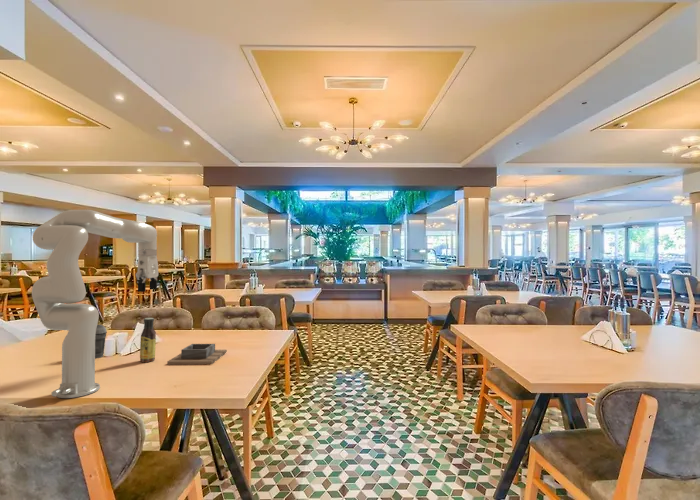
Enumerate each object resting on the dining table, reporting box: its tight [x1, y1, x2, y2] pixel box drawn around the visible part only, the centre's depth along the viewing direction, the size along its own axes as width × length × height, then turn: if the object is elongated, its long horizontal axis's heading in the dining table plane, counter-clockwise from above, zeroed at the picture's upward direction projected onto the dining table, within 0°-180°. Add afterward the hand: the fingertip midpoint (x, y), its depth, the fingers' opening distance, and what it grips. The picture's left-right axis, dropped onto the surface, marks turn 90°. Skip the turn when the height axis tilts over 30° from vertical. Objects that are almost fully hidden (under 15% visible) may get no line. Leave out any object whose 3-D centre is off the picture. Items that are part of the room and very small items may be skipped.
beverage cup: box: [95, 324, 108, 359], centre depth 174 cm, size 7×7×20 cm
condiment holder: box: [166, 343, 228, 366], centre depth 171 cm, size 20×20×6 cm
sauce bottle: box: [139, 317, 157, 363], centre depth 167 cm, size 7×6×20 cm
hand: (147, 290), depth 167 cm, fingers open, 9 cm apart
